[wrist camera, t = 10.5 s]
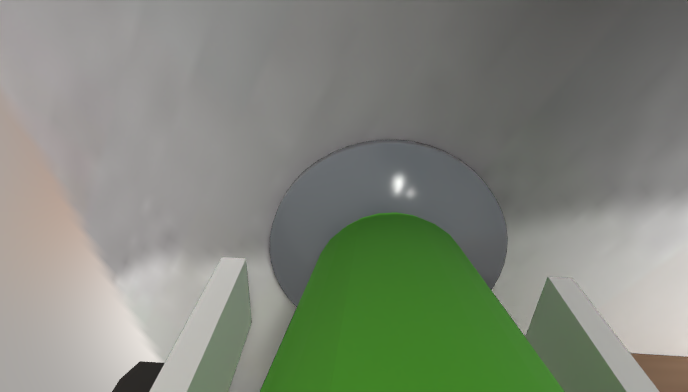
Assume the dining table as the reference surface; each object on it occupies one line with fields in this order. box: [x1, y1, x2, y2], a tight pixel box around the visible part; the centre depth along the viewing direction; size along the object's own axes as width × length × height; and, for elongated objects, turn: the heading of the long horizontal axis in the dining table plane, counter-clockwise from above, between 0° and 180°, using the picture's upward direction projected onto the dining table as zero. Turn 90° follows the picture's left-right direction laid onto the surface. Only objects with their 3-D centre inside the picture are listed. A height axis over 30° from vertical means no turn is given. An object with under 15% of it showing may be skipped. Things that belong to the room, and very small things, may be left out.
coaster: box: [270, 140, 507, 307], centre depth 15 cm, size 9×9×1 cm
